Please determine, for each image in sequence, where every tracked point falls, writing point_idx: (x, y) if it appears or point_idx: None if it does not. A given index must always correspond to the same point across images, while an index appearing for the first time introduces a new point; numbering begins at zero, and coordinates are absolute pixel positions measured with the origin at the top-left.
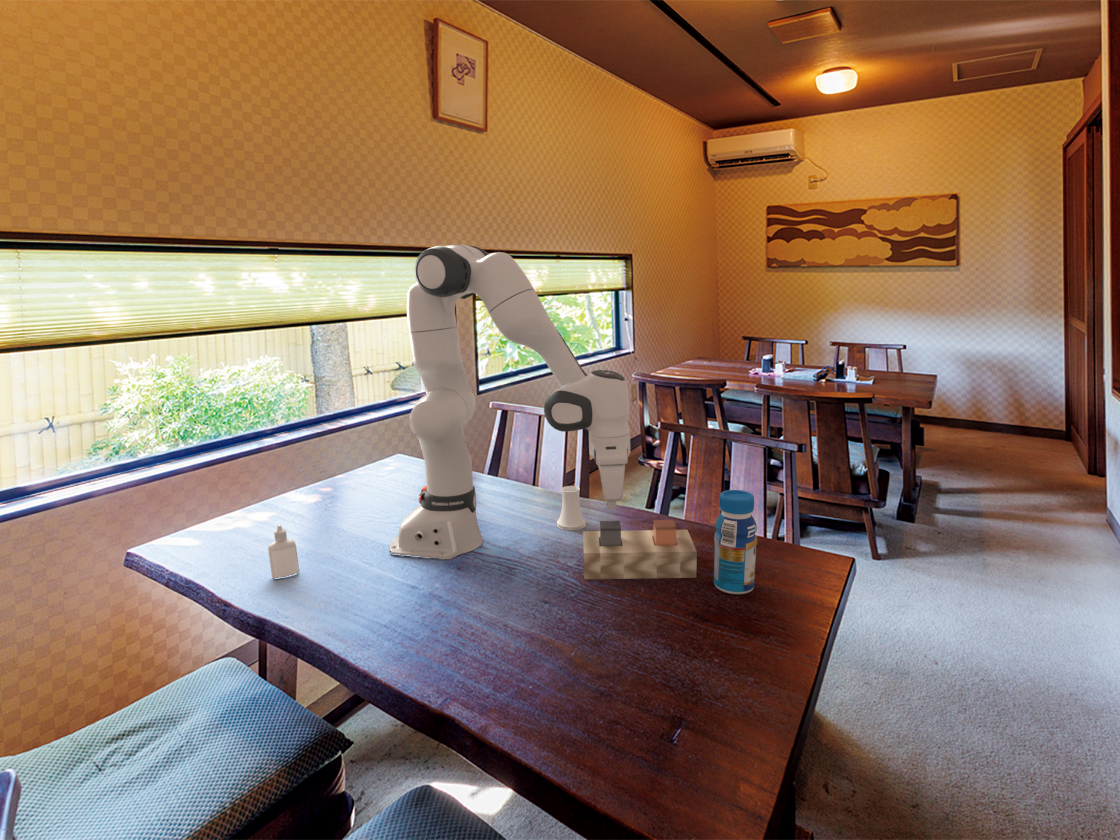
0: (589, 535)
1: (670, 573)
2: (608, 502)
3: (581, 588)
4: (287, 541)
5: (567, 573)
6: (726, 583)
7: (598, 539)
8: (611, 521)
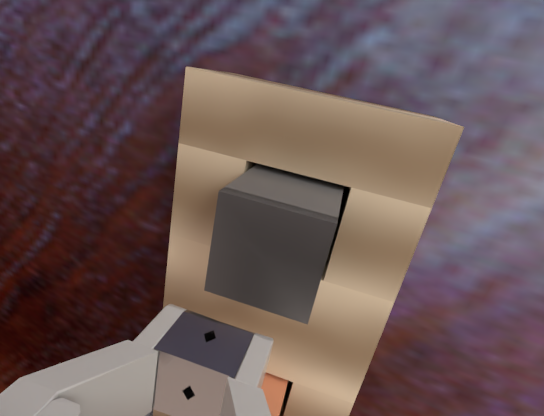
0: (389, 147)
1: None
2: (137, 341)
3: (173, 49)
4: None
5: (291, 14)
6: None
7: (324, 178)
8: (309, 282)
